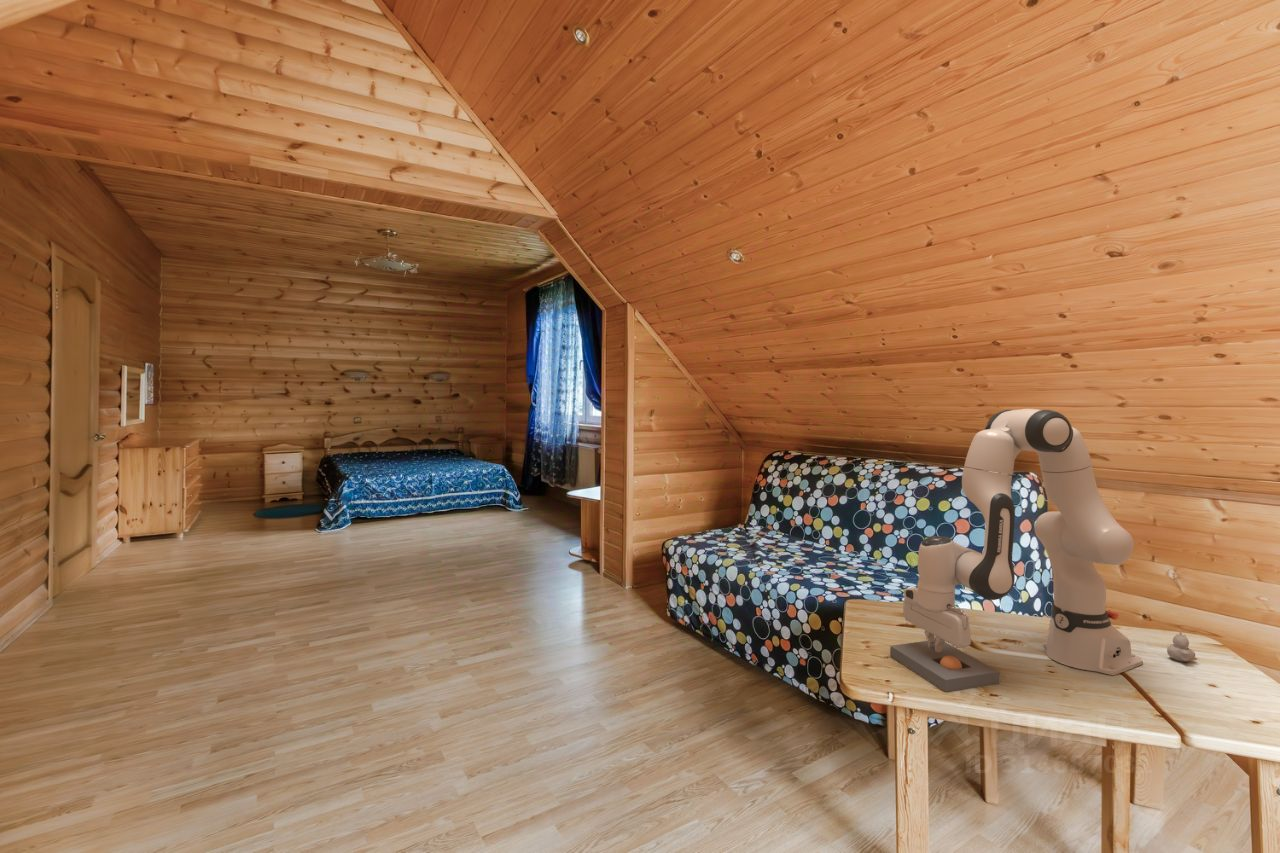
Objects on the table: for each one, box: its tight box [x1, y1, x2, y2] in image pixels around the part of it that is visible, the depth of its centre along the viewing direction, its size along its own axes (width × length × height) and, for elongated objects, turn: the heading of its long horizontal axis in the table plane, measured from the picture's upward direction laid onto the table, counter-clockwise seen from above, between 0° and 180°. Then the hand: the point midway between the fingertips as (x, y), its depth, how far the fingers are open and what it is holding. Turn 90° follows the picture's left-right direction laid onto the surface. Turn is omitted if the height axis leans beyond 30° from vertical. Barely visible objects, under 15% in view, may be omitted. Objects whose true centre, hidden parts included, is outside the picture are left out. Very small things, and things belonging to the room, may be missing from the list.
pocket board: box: [889, 639, 1001, 693], centre depth 150 cm, size 16×20×3 cm
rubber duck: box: [1166, 630, 1196, 663], centre depth 153 cm, size 5×7×8 cm
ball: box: [940, 656, 962, 670], centre depth 147 cm, size 5×5×5 cm
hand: (935, 649), depth 152 cm, fingers closed
